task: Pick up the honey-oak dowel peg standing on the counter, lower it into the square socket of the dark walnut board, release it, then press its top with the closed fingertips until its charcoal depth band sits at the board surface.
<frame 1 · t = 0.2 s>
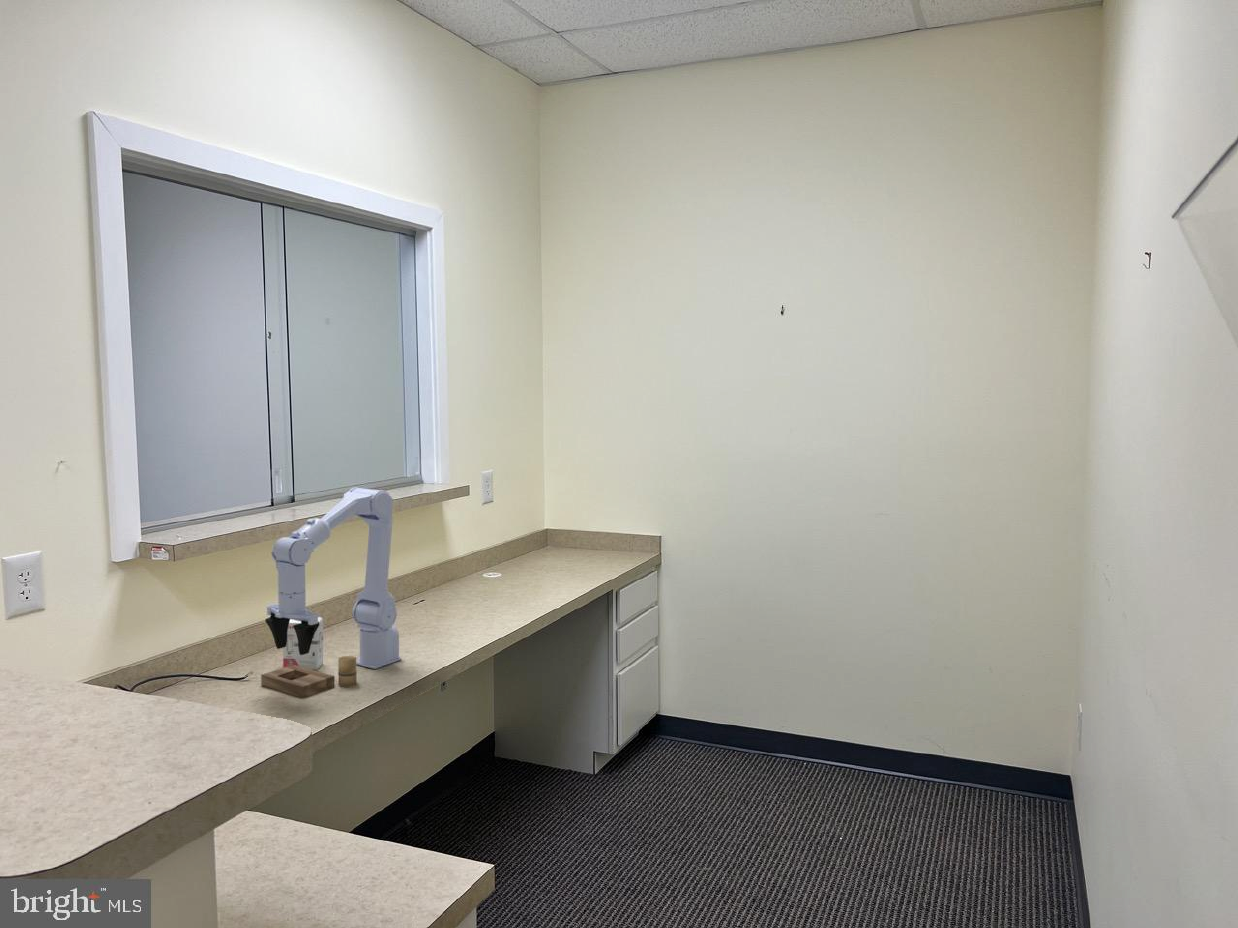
hand: (292, 650, 206), 10 cm above the worktop, fingers open, 7 cm apart
ink box: (303, 667, 226), on the worktop
peg: (347, 683, 214), on the worktop
board: (298, 685, 212), on the worktop
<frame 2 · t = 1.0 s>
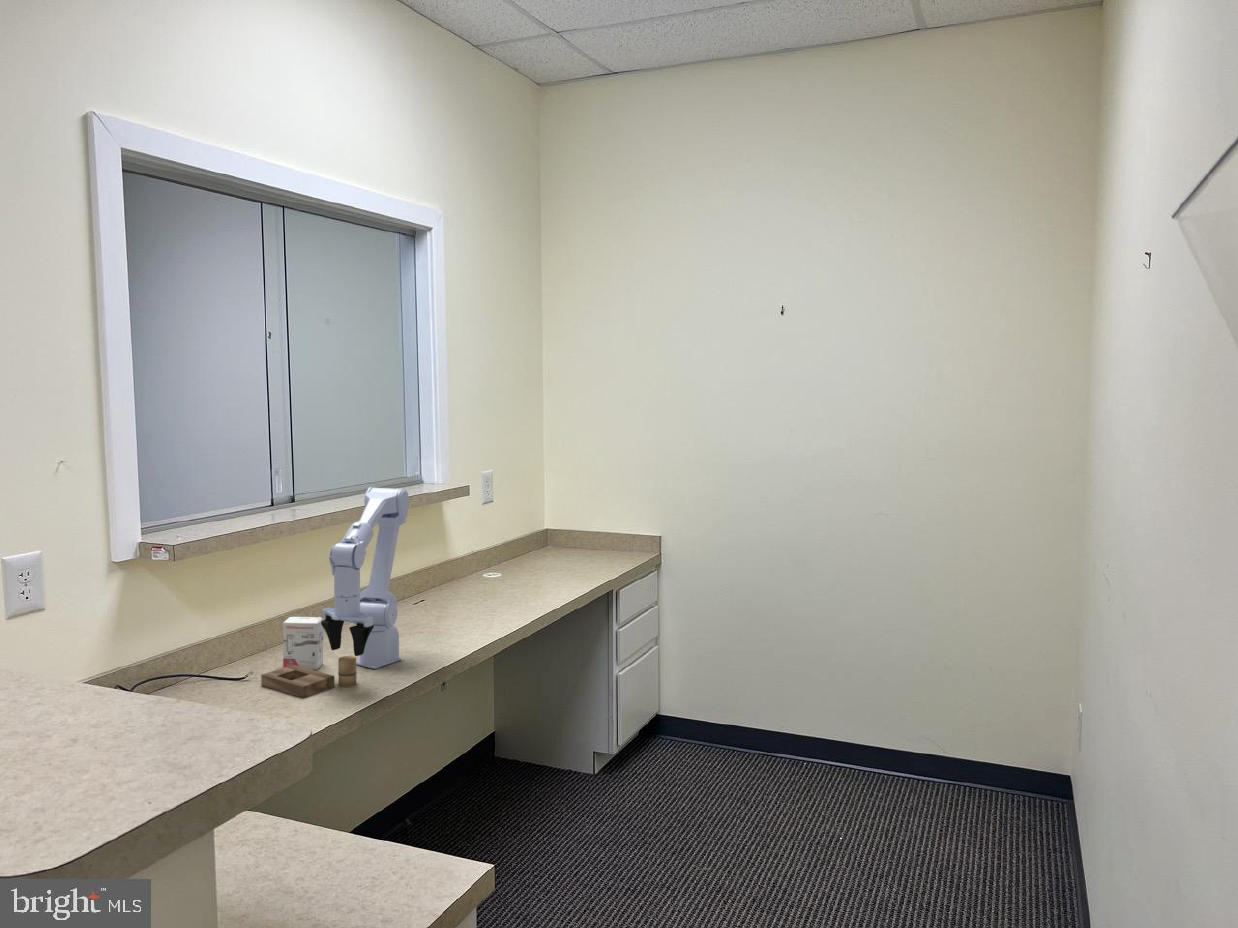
hand: (347, 651, 214), 8 cm above the worktop, fingers open, 7 cm apart
nothing on the worktop moved.
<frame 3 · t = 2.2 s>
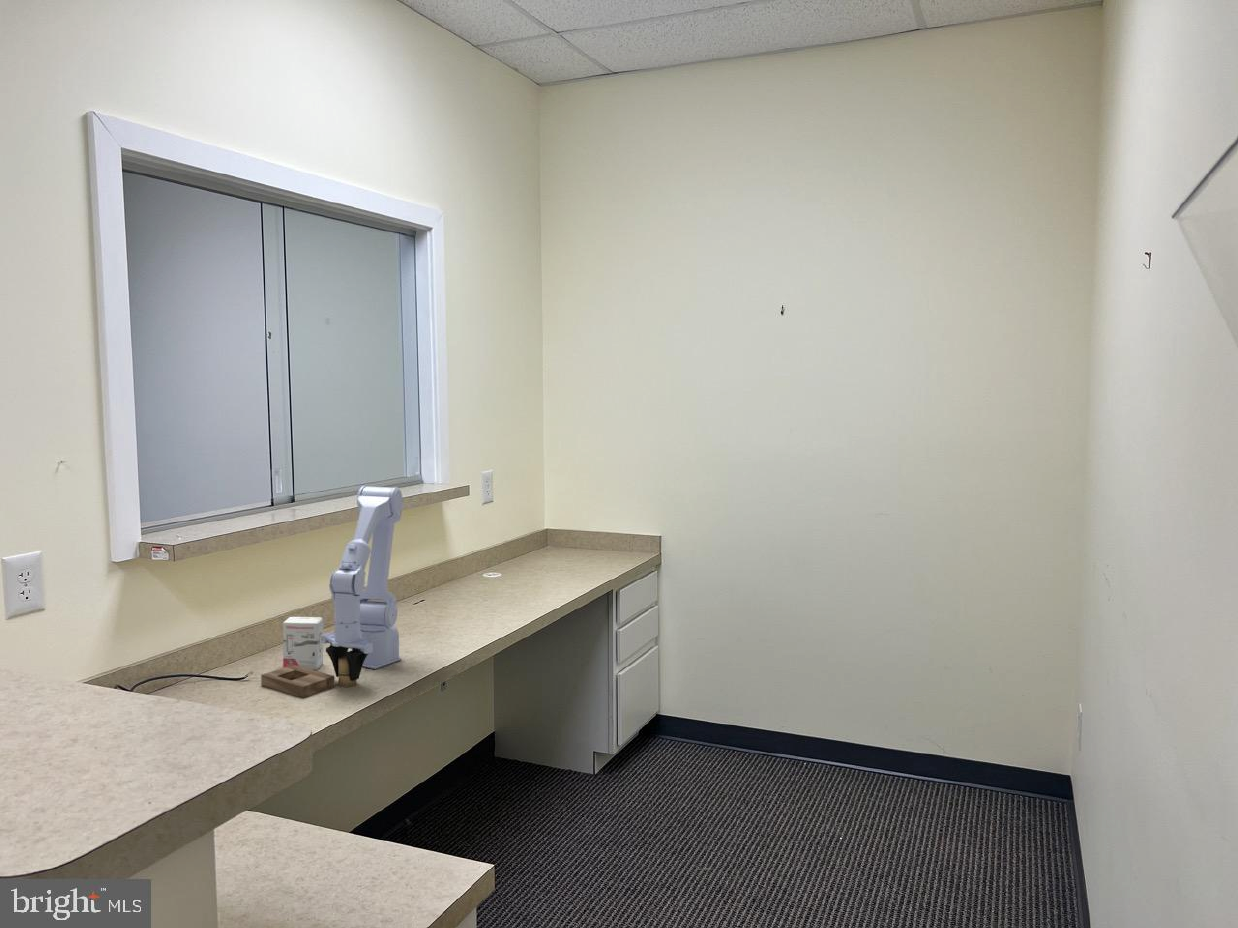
hand: (347, 677, 214), 1 cm above the worktop, fingers closed on peg, 4 cm apart
peg: (347, 683, 214), on the worktop, touching gripper
everything else where it was.
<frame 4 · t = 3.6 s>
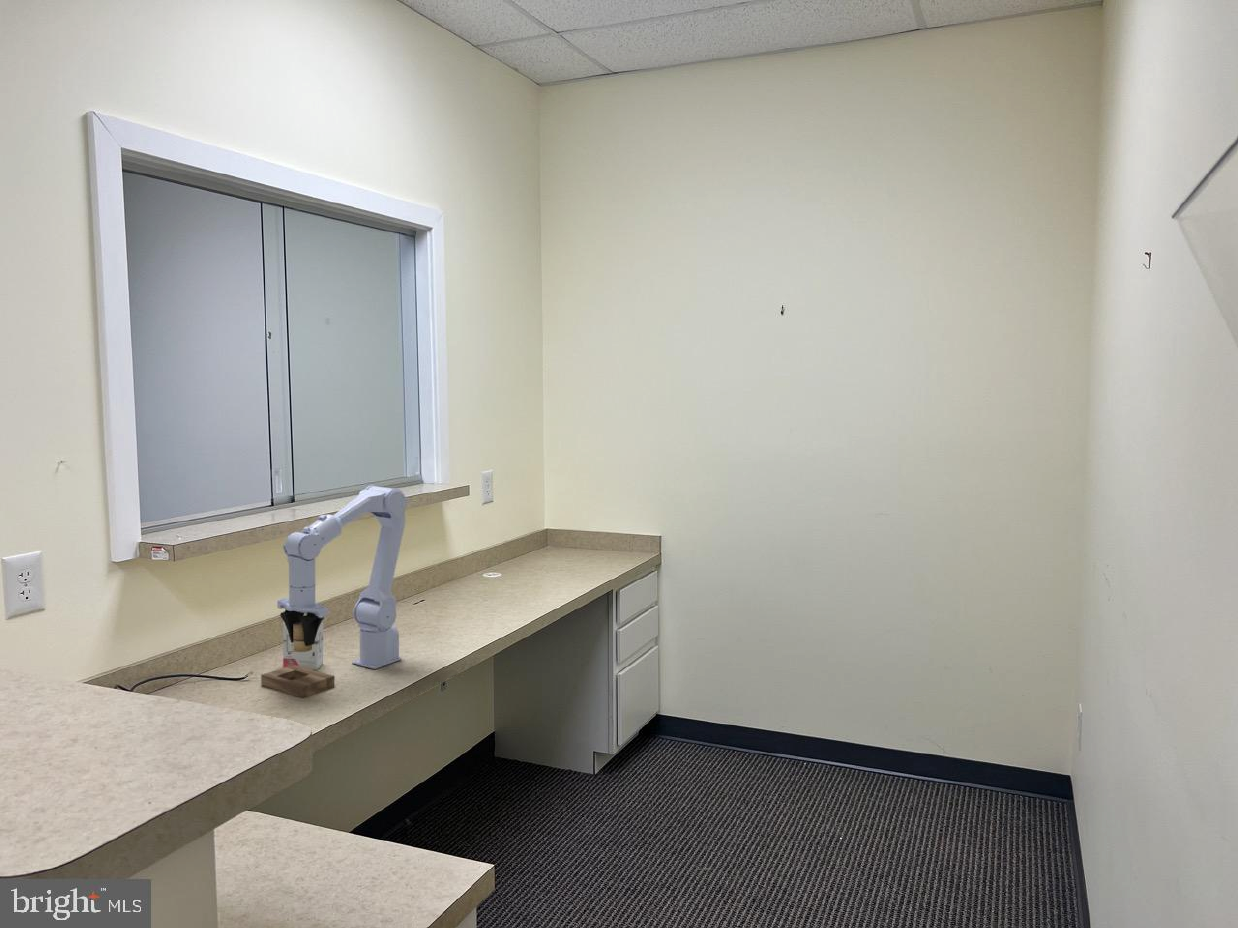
hand: (302, 643, 211), 10 cm above the worktop, fingers closed on peg, 4 cm apart
peg: (302, 649, 211), point 9 cm above the worktop, touching gripper
everything else where it was.
when the fingers open (3 cm above the worktop, at t = 5.3 s): peg drops 1 cm, resting in board.
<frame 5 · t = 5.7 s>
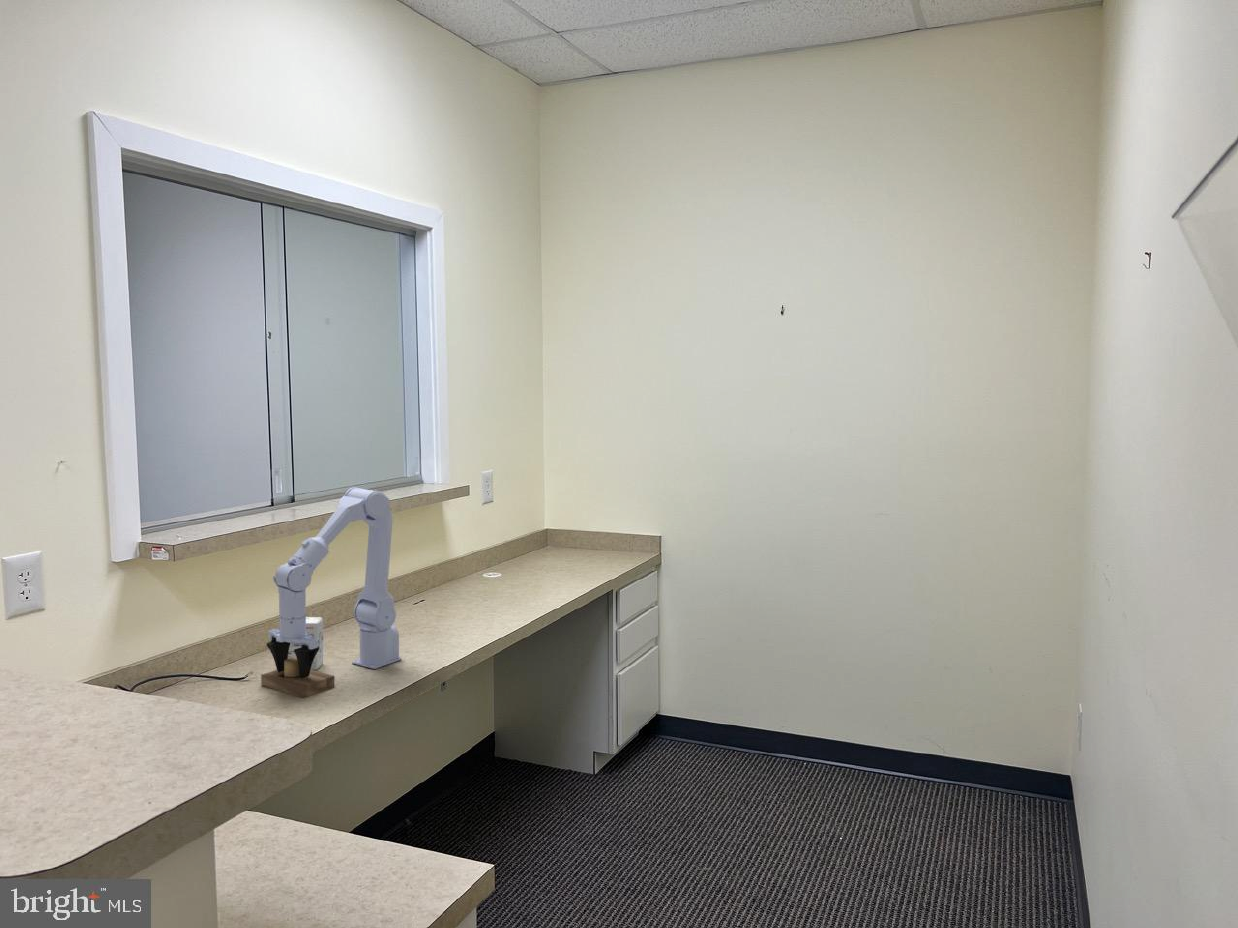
hand: (293, 673, 212), 3 cm above the worktop, fingers open, 7 cm apart
peg: (293, 685, 212), resting in board
everything else where it was.
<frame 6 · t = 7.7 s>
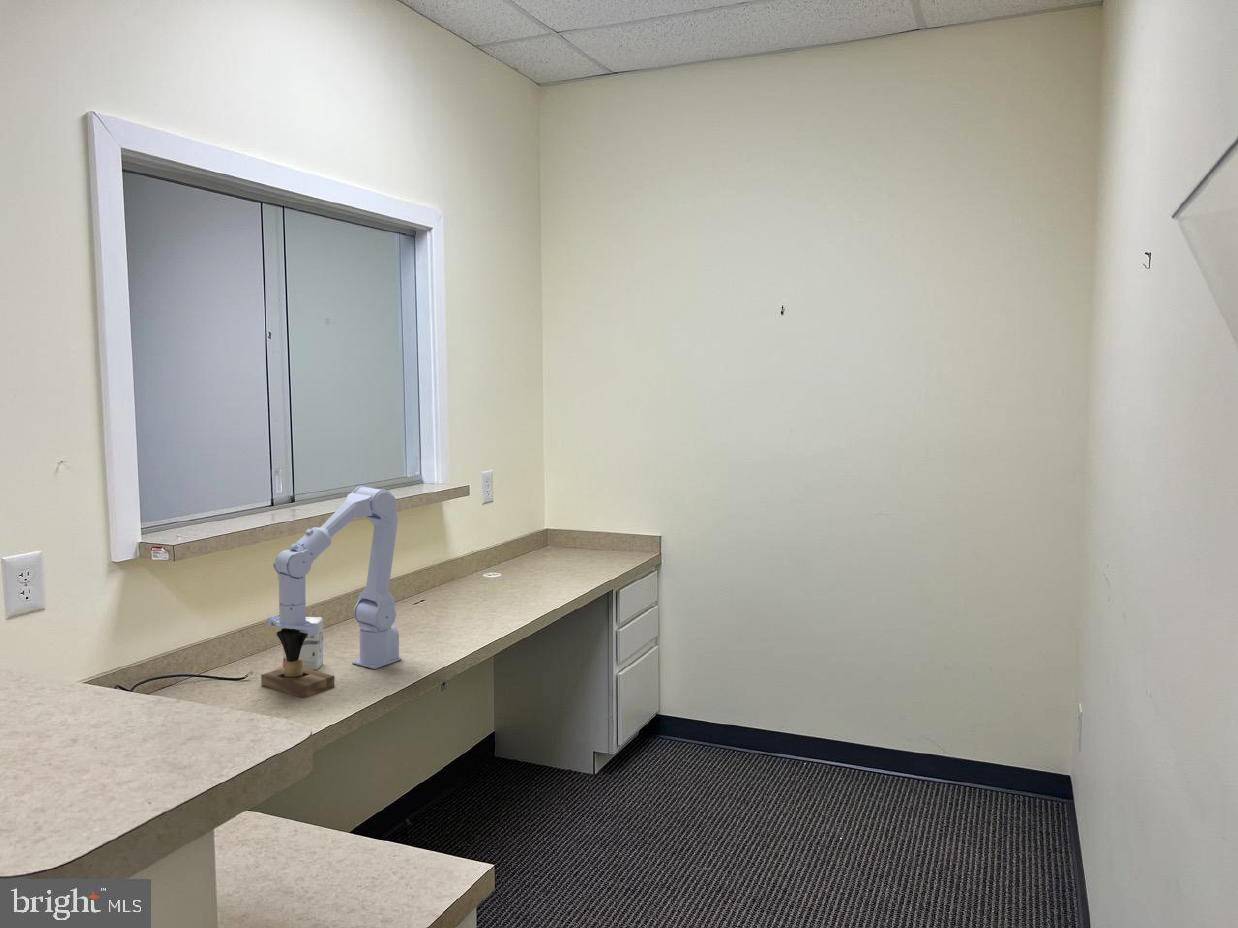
hand: (292, 660, 211), 6 cm above the worktop, fingers closed, pressing on peg
peg: (293, 685, 212), resting in board, touching gripper
everything else where it was.
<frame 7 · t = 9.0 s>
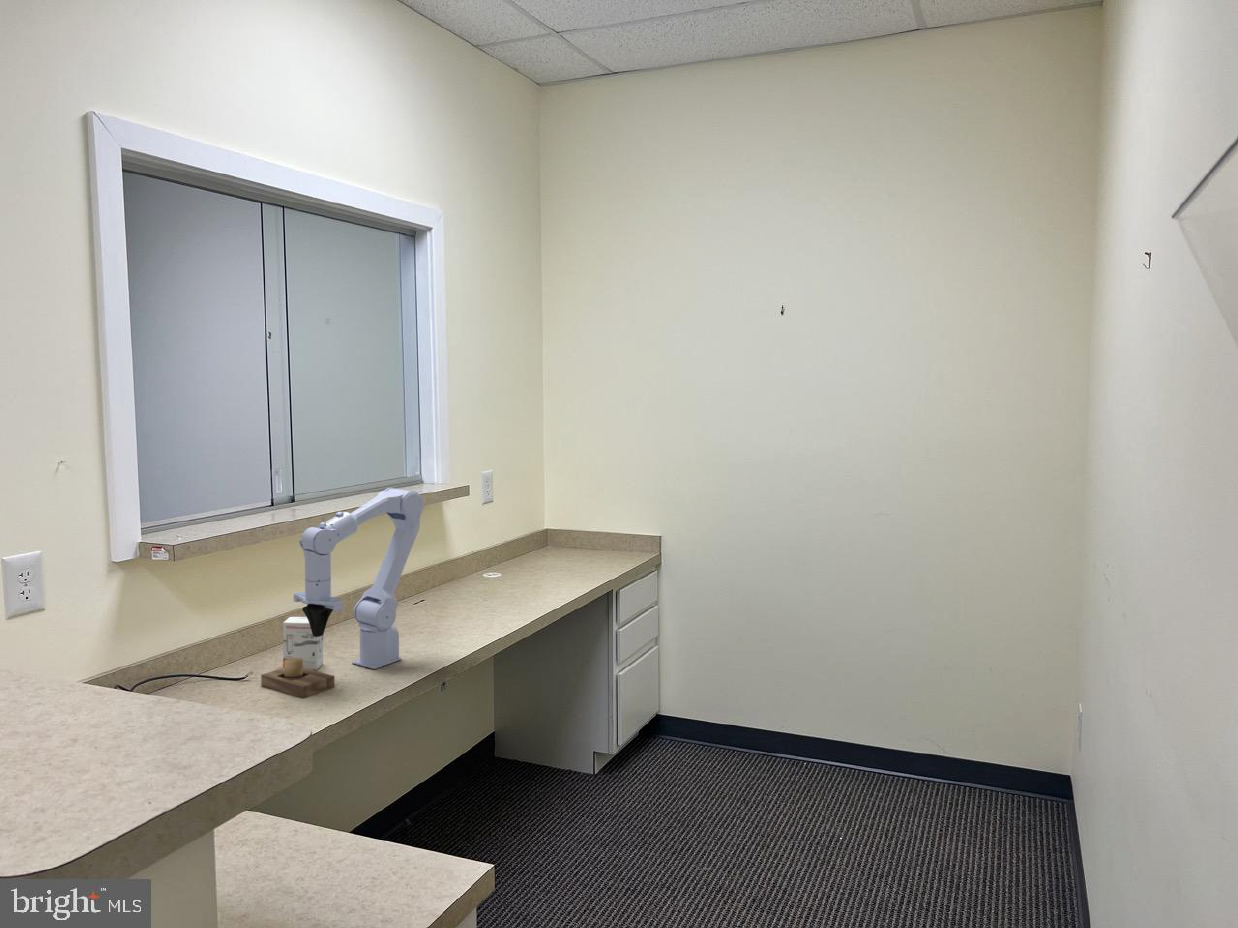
hand: (318, 635, 216), 10 cm above the worktop, fingers closed
peg: (293, 685, 212), resting in board
everything else where it was.
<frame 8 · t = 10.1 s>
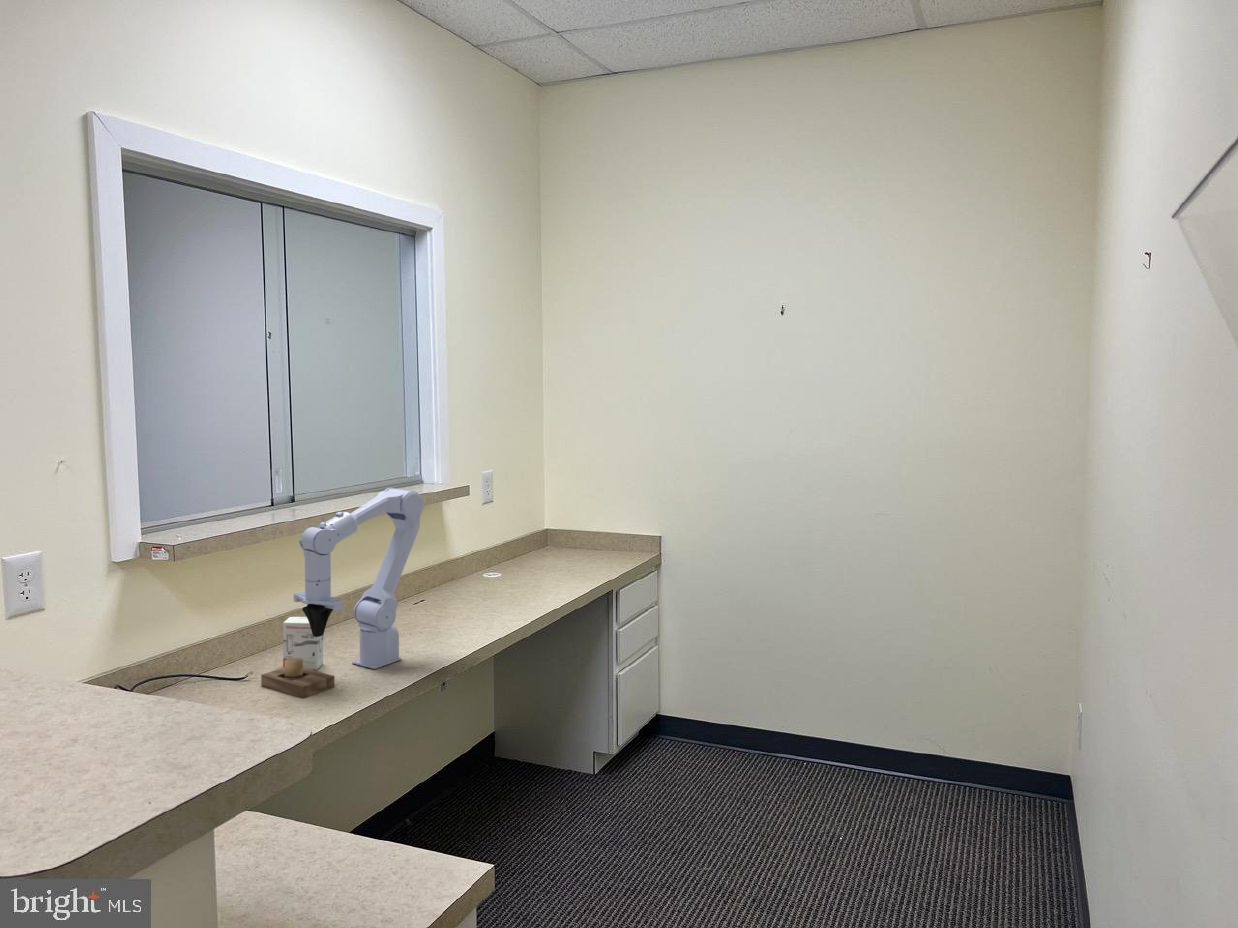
hand: (318, 635, 216), 10 cm above the worktop, fingers closed
nothing on the worktop moved.
at the end: peg 0.1 cm from the target spot on the board, point 0.0 cm above the board's base; peg tilted 1°; the gripper is holding nothing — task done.
